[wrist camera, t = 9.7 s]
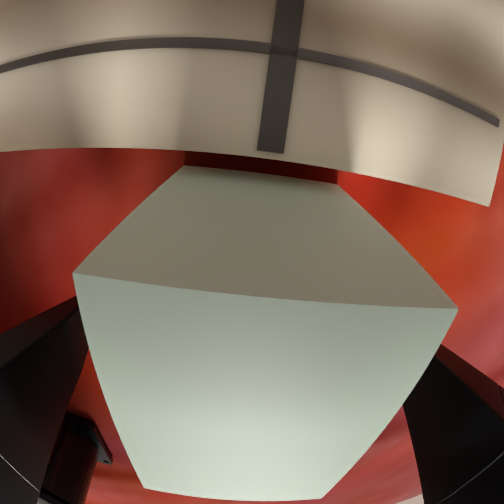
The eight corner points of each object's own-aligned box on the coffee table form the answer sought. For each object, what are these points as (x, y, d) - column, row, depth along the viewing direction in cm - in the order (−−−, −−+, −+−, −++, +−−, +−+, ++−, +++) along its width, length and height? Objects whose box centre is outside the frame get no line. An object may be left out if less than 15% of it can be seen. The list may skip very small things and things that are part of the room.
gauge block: (283, 389, 14) (296, 520, 8) (181, 380, 14) (157, 511, 7) (336, 184, 10) (458, 309, 3) (184, 165, 10) (72, 272, 3)
